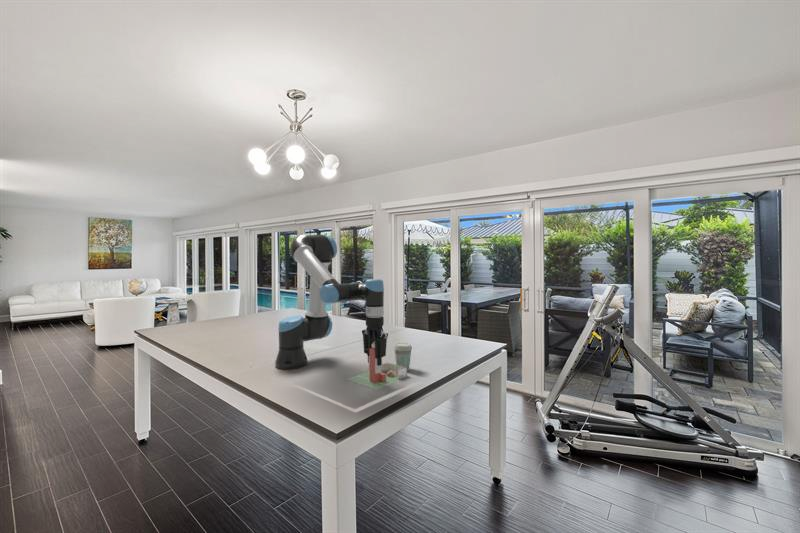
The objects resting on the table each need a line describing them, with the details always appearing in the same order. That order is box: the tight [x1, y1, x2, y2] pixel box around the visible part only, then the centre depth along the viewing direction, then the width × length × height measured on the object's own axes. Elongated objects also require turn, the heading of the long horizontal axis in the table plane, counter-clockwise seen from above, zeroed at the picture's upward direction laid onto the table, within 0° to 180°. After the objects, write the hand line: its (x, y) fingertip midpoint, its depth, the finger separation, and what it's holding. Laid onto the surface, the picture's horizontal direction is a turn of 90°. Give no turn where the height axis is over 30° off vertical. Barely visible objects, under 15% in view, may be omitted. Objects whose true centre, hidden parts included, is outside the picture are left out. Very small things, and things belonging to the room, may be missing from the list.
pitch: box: [346, 371, 400, 391], centre depth 148 cm, size 18×14×1 cm
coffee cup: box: [393, 342, 413, 372], centre depth 165 cm, size 8×8×12 cm
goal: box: [381, 361, 408, 380], centre depth 155 cm, size 12×6×5 cm, turn 50°
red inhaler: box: [369, 342, 387, 383], centre depth 147 cm, size 7×5×16 cm
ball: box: [386, 370, 396, 378], centre depth 153 cm, size 4×4×4 cm
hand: (374, 371), depth 146 cm, fingers closed on red inhaler, 3 cm apart
